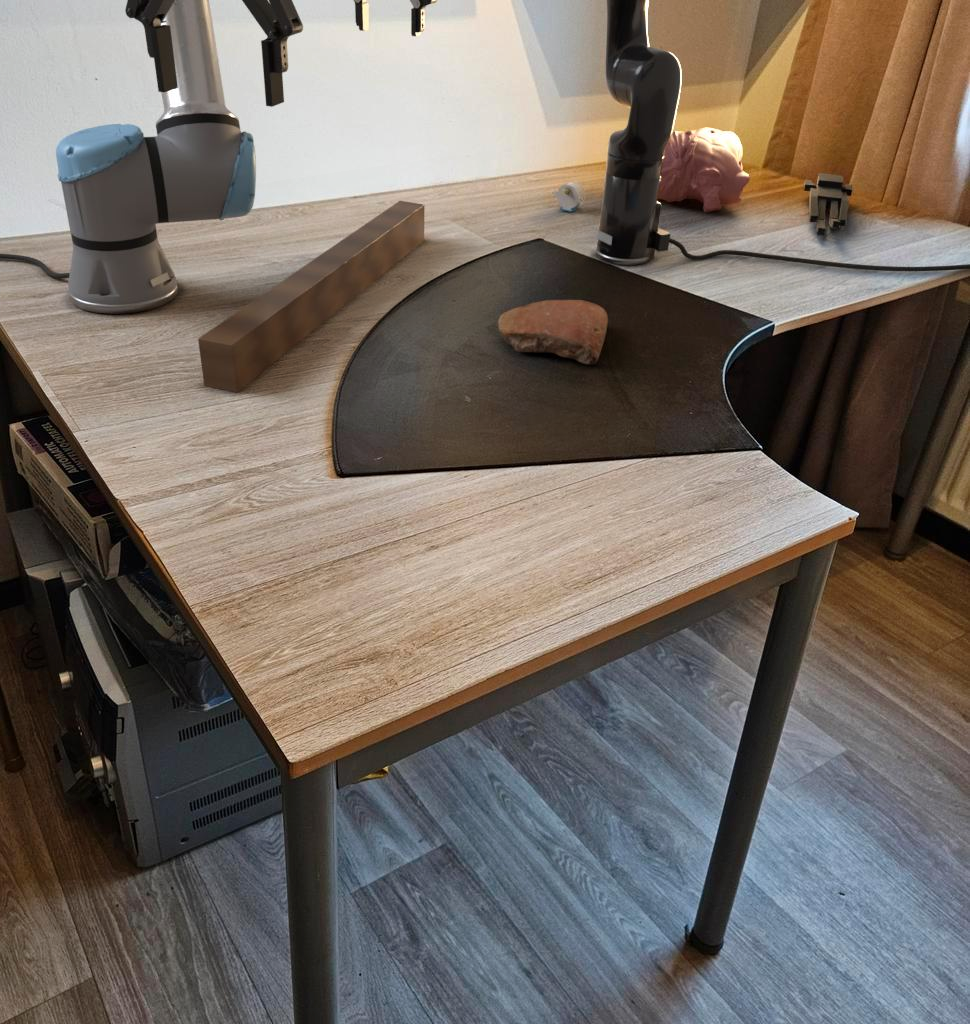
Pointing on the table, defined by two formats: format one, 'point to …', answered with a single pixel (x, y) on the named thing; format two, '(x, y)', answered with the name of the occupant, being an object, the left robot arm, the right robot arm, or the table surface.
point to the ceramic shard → (557, 328)
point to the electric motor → (570, 196)
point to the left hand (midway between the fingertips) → (221, 97)
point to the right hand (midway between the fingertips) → (390, 33)
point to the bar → (307, 298)
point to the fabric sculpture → (703, 168)
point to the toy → (828, 201)
